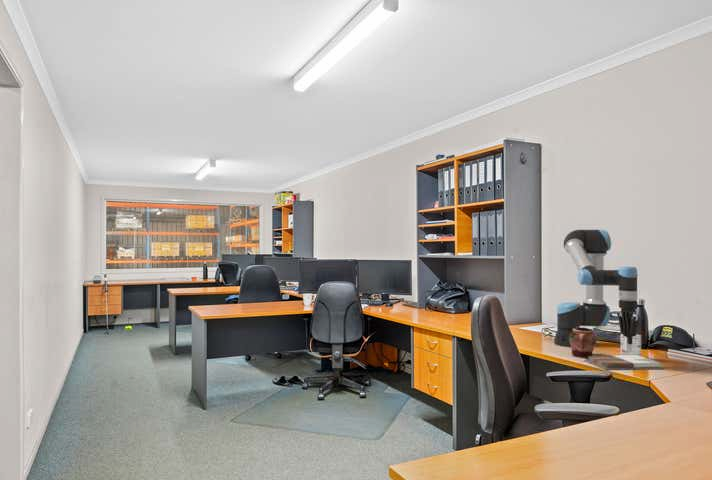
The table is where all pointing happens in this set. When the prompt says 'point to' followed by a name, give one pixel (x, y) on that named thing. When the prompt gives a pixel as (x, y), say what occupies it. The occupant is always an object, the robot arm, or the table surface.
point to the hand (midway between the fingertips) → (628, 350)
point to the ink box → (635, 346)
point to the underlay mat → (623, 368)
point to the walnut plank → (610, 362)
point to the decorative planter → (582, 342)
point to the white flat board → (639, 360)
